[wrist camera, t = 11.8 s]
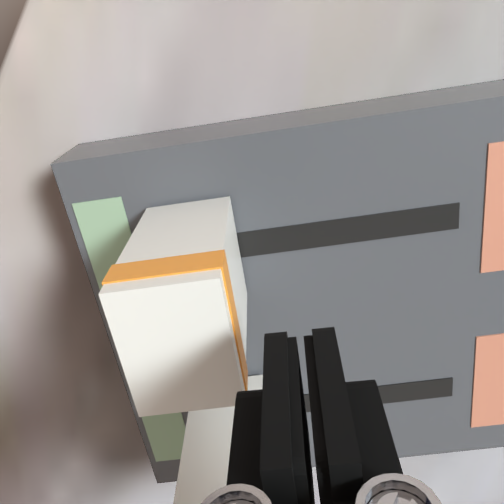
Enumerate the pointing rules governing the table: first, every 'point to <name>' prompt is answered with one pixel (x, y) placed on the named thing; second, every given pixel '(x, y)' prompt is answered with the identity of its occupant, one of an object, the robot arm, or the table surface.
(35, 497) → the table surface
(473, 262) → the breaker panel
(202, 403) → the block
